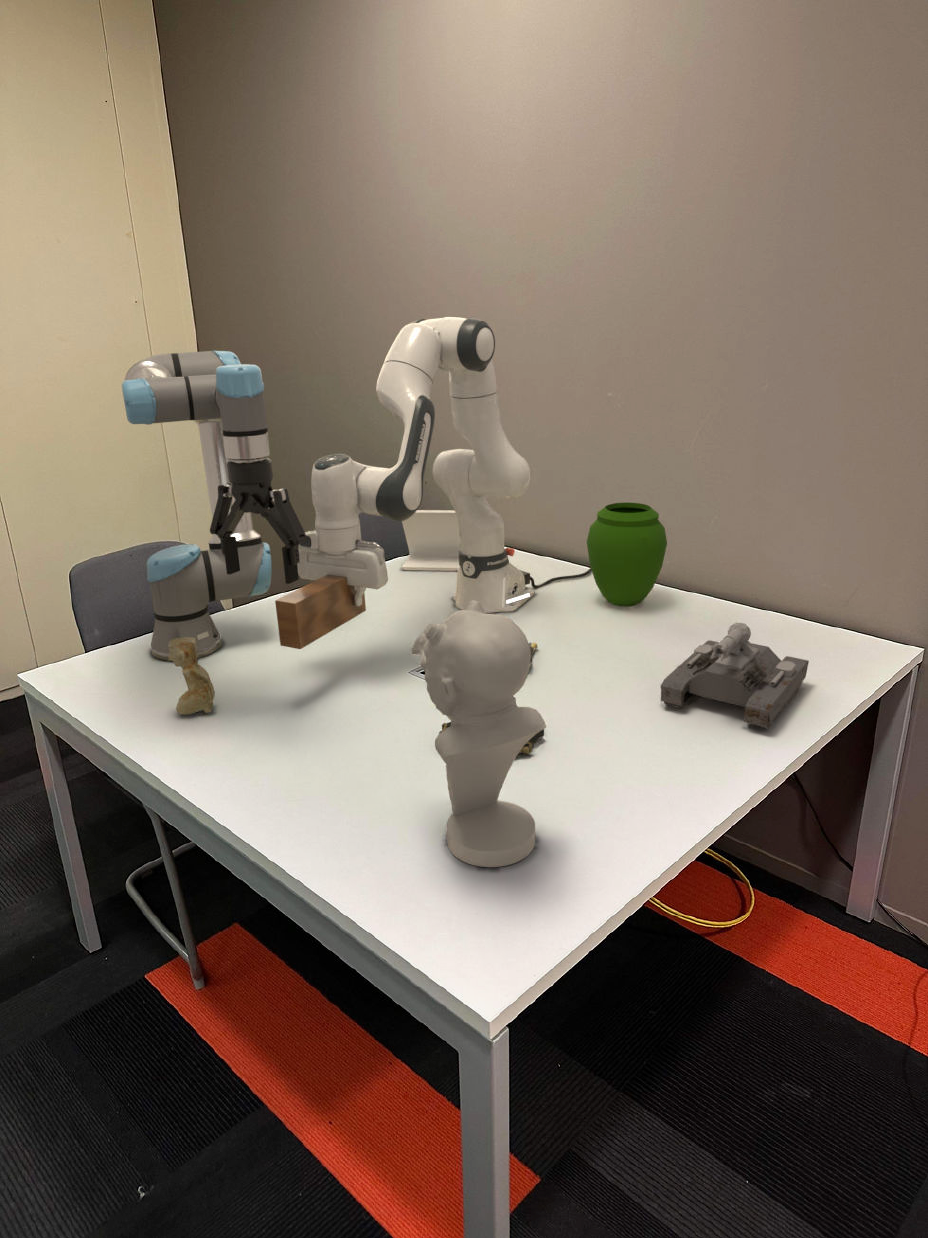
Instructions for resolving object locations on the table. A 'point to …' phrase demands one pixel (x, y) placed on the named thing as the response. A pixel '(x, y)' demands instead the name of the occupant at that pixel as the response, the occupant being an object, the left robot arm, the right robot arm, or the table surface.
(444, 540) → the tablet stand
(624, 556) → the vase
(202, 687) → the sculpture
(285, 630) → the bar
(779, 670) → the toy
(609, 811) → the table surface
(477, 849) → the bust sculpture
